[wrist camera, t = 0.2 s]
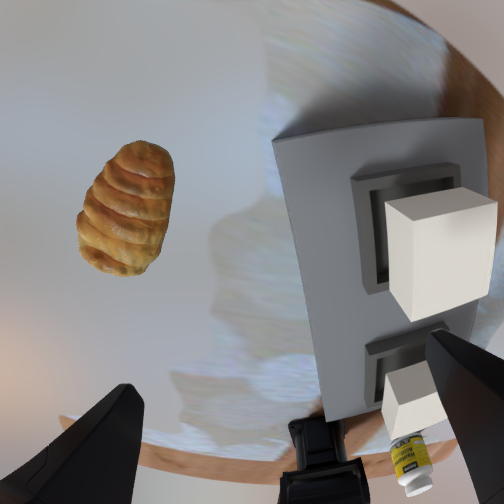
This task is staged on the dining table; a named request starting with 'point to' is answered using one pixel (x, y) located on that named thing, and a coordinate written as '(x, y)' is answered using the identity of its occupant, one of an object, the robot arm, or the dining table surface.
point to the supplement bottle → (412, 463)
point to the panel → (369, 243)
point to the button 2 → (440, 250)
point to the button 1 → (411, 401)
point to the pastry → (127, 210)
